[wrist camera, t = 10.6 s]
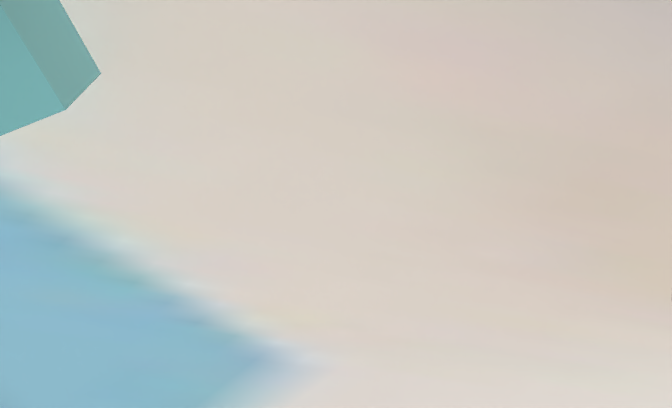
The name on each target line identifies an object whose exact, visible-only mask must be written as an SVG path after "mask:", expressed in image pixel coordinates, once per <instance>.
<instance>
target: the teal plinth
mask: <svg viewBox="0 0 672 408" xmlns="http://www.w3.org/2000/svg"><path fill="white" fill-rule="evenodd" d="M100 74H101V73H100V71H99V69H98V67H97V66H96V64H95V62H94V60H93V59H92V57H91V55H90V53H89V52H88V50H87V48H86V46H85V45H84V43H83V41H82V39H81V38H80V36H79V34H78V32H77V31H76V29H75V27H74V25H73V24H72V22H71V20H70V18H69V17H68V15H67V13H66V11H65V10H64V8H63V6H62V4H61V3H60V1H59V0H0V136H1V135H4V134H6V133H9V132H11V131H14V130H16V129H19V128H21V127H24V126H26V125H29V124H31V123H34V122H36V121H39V120H41V119H44V118H46V117H49V116H51V115H54V114H56V113H59V112H61V111H64V110H66V109H67V108H68V107H69V106H70V105H71V104H72V103H73V102H74V101H75V100H76V99H77V98H78V97H79V95H80V94H81V93H82V92H83V91H84V90H85V89H86V88H87V87H88V86H89V85H90V84H91V83H92V82H93V81H94V80H95V79H96V78H97V77H98V76H99V75H100Z"/></svg>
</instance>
